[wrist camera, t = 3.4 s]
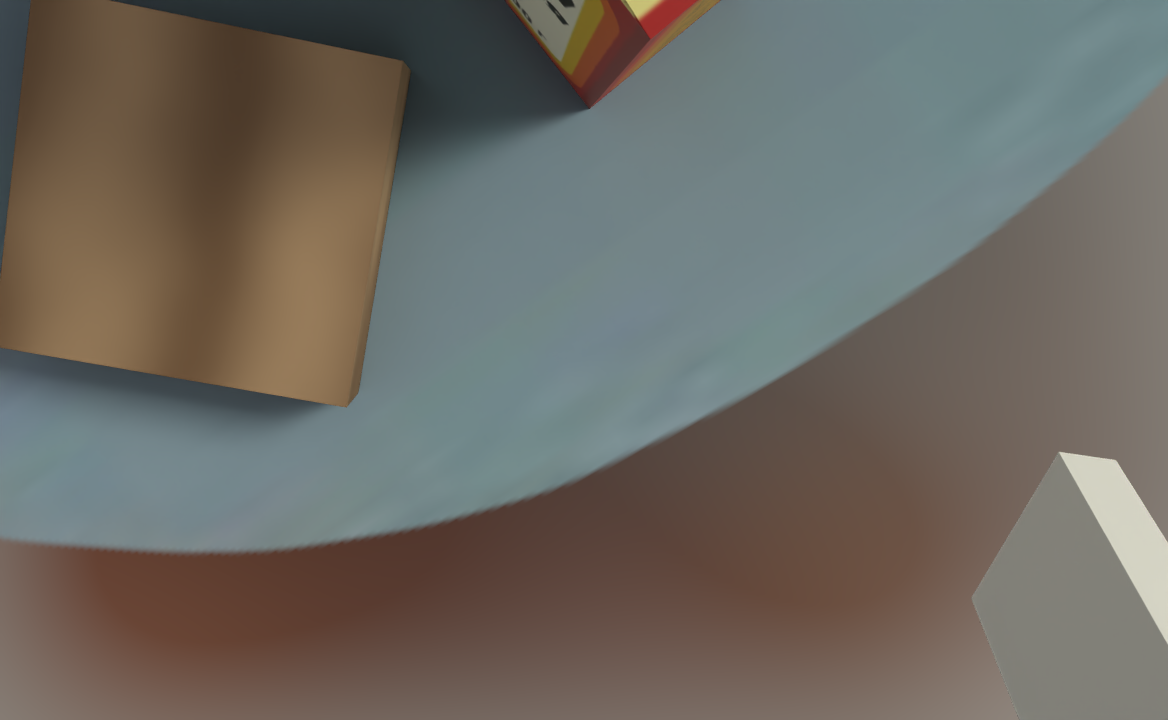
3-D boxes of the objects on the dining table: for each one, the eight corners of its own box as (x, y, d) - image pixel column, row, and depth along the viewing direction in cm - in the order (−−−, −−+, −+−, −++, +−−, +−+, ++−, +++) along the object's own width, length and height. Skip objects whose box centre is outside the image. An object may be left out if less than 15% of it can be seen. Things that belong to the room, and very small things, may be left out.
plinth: (30, 335, 34) (-8, 346, 32) (69, 0, 33) (32, -16, 30) (358, 392, 35) (346, 407, 33) (411, 70, 34) (402, 60, 31)
